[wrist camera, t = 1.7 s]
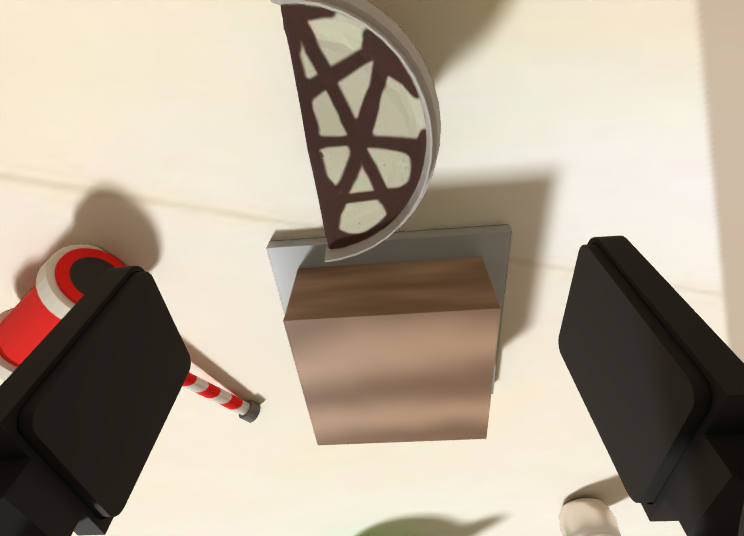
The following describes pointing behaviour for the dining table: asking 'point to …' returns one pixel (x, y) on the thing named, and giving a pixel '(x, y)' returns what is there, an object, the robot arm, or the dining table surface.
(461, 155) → the dining table surface
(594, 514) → the plastic bottle
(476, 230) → the baseplate
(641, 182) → the dining table surface
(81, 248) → the toy hammer
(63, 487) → the robot arm
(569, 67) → the dining table surface
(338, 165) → the food container
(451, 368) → the walnut brick
